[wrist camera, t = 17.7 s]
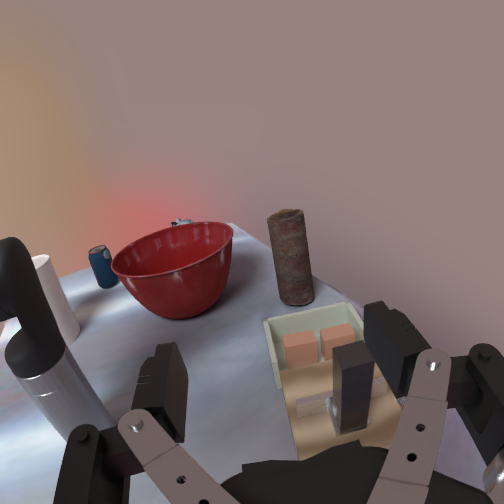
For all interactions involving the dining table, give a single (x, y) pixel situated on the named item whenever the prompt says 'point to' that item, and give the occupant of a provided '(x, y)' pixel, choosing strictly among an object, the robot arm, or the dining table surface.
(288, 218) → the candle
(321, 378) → the curved wooden platform
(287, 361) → the tile
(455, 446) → the dining table surface
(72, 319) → the canister
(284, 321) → the tray
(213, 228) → the mixing bowl
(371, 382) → the dark piece
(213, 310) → the dining table surface
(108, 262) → the soda can
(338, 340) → the tile
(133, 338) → the dining table surface
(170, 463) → the robot arm
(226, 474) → the dining table surface
